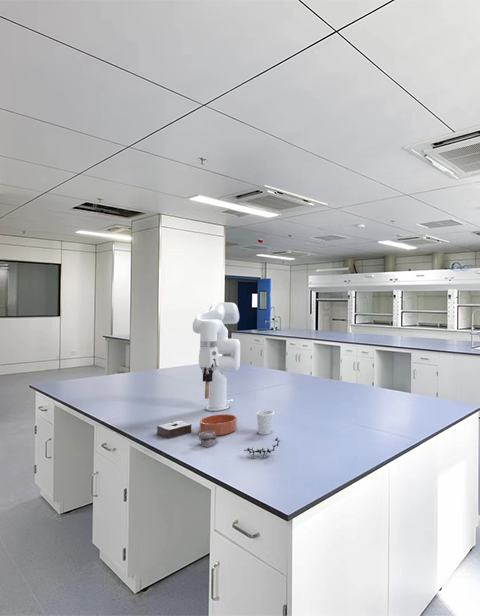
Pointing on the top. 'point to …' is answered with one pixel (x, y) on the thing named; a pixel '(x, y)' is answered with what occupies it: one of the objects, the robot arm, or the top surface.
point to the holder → (174, 429)
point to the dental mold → (207, 438)
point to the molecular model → (262, 449)
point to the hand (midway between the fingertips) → (207, 381)
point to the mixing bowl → (219, 424)
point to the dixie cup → (265, 421)
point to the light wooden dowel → (206, 388)
